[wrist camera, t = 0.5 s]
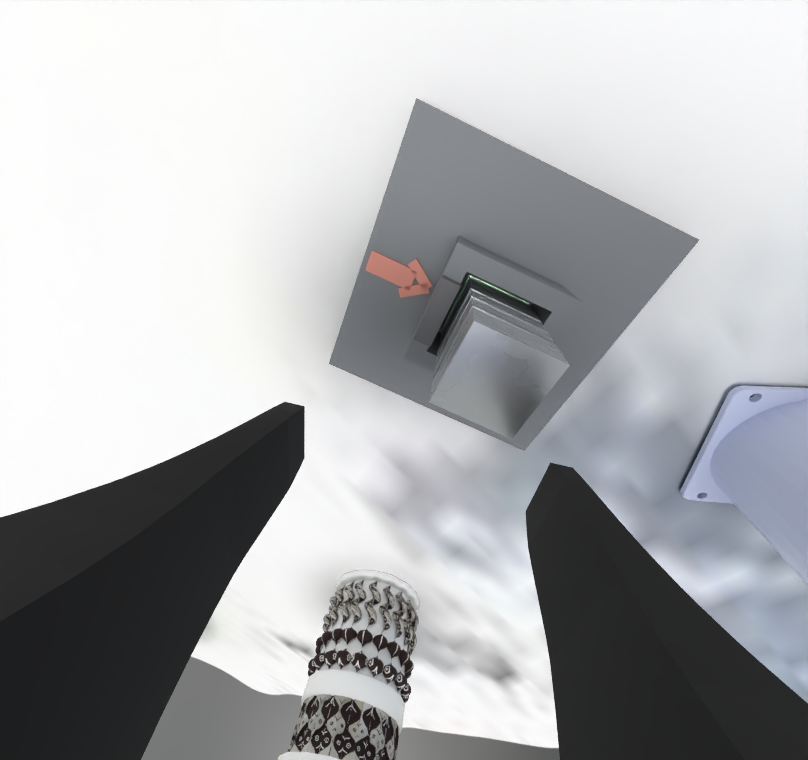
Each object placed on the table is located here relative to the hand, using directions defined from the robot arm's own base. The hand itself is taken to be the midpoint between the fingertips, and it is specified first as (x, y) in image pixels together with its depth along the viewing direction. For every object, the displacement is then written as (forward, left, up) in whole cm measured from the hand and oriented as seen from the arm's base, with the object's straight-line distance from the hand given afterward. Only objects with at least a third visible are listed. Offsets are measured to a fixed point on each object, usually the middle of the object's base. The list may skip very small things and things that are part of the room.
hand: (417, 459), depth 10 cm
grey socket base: (-2, -2, -10) cm, 11 cm away
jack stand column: (-2, -2, -9) cm, 9 cm away
